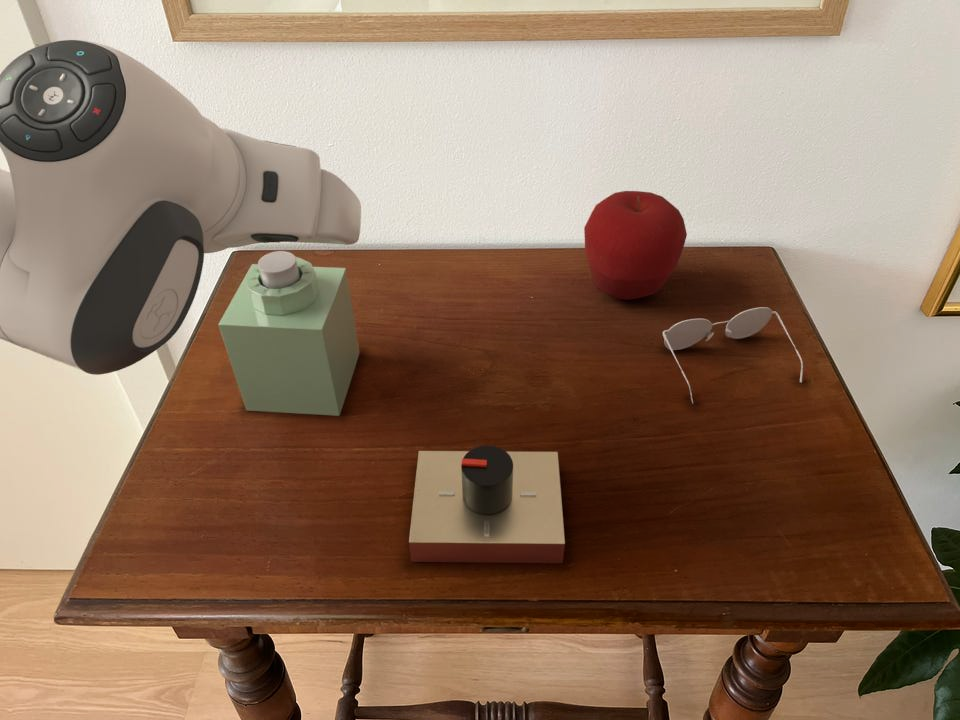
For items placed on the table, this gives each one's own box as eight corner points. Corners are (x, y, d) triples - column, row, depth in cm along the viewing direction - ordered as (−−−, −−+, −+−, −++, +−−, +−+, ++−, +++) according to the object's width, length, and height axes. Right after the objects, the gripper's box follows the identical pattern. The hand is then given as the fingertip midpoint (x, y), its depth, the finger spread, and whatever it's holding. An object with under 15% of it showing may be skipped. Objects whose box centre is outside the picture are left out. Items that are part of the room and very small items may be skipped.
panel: (562, 563, 62) (565, 542, 60) (411, 562, 62) (408, 541, 60) (555, 472, 69) (557, 450, 67) (420, 470, 70) (418, 449, 68)
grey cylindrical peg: (294, 290, 69) (290, 273, 67) (257, 289, 69) (252, 271, 68) (304, 268, 71) (300, 251, 70) (268, 267, 72) (264, 250, 70)
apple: (611, 331, 85) (625, 233, 76) (560, 278, 93) (567, 184, 84) (693, 303, 89) (716, 207, 80) (638, 255, 97) (653, 162, 88)
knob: (513, 475, 65) (514, 444, 62) (510, 516, 62) (511, 485, 59) (465, 472, 66) (464, 441, 63) (459, 512, 62) (458, 481, 59)
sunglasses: (764, 333, 84) (780, 303, 80) (801, 389, 79) (819, 361, 75) (654, 353, 82) (664, 323, 78) (684, 412, 77) (696, 384, 73)
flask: (339, 416, 75) (318, 310, 66) (246, 410, 76) (211, 305, 67) (359, 352, 83) (343, 248, 73) (274, 348, 83) (246, 245, 74)
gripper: (54, 226, 53) (153, 262, 66) (330, 237, 51) (372, 272, 65) (62, 141, 53) (158, 195, 67) (336, 150, 52) (377, 203, 65)
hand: (266, 233), depth 66 cm, fingers closed
